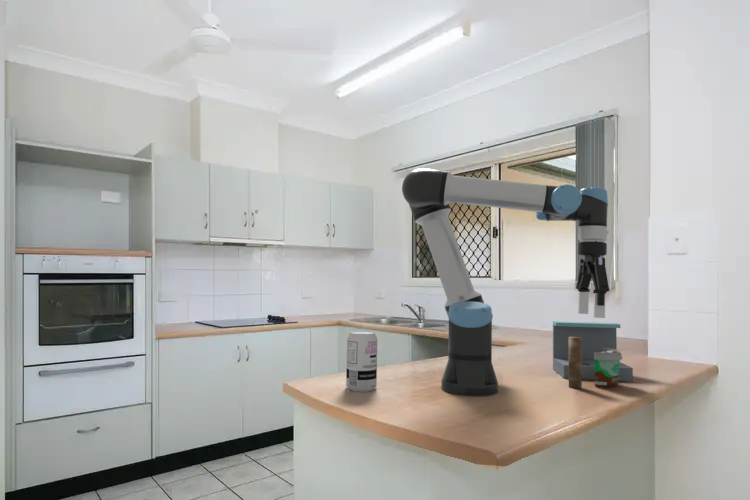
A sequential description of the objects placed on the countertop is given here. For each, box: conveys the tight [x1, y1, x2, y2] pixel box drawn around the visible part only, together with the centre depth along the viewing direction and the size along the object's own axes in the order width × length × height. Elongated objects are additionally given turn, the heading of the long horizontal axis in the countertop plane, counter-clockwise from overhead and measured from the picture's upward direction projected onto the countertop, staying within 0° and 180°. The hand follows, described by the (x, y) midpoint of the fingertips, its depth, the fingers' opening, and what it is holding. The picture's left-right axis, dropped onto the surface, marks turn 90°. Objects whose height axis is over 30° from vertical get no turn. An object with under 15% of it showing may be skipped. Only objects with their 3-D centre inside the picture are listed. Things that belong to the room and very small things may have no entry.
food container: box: [594, 348, 623, 389], centre depth 139 cm, size 12×6×10 cm, turn 143°
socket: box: [552, 320, 634, 382], centre depth 154 cm, size 20×14×16 cm
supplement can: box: [345, 330, 378, 393], centre depth 130 cm, size 8×8×15 cm
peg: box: [568, 337, 583, 390], centre depth 136 cm, size 3×3×14 cm
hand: (590, 315), depth 138 cm, fingers open, 13 cm apart
